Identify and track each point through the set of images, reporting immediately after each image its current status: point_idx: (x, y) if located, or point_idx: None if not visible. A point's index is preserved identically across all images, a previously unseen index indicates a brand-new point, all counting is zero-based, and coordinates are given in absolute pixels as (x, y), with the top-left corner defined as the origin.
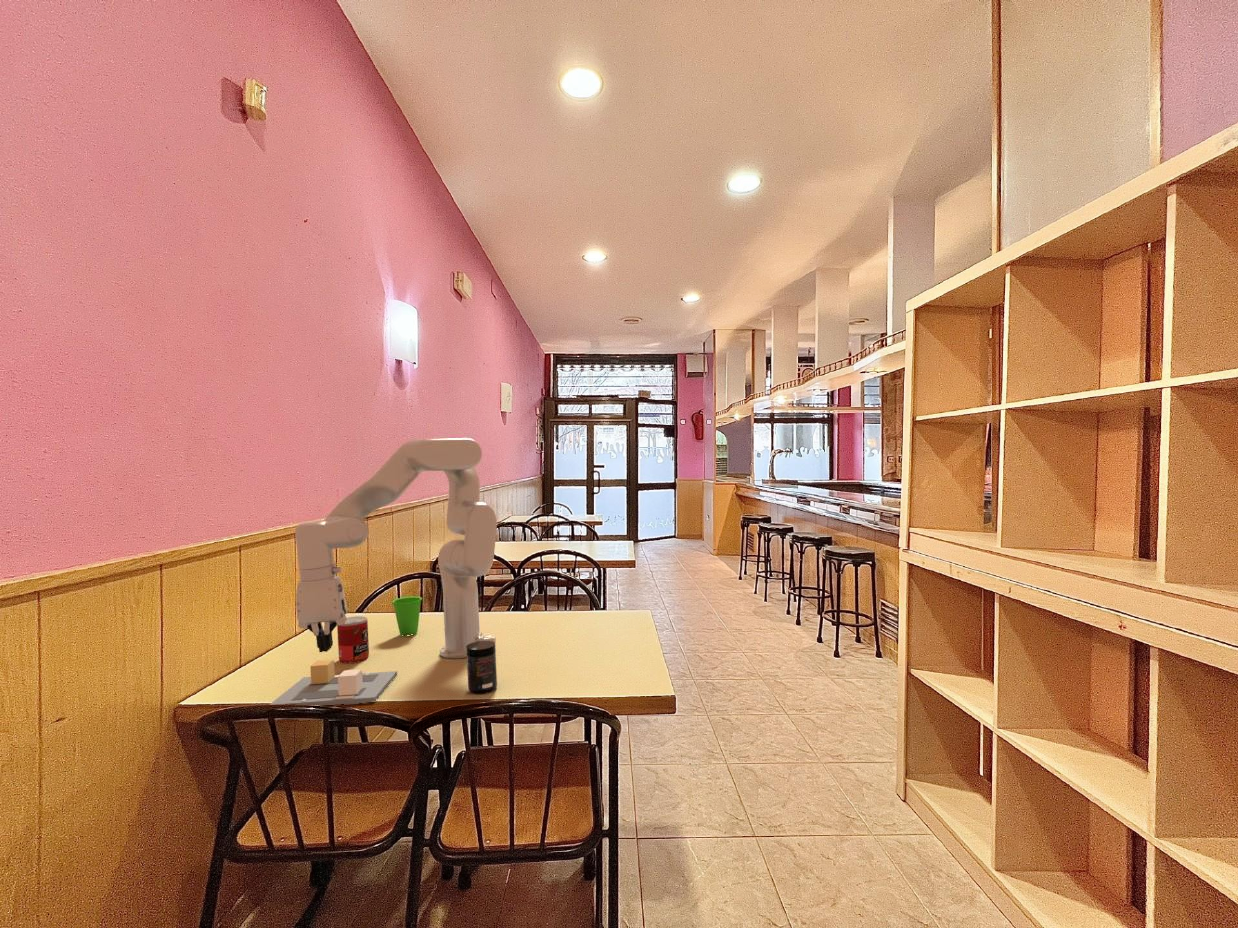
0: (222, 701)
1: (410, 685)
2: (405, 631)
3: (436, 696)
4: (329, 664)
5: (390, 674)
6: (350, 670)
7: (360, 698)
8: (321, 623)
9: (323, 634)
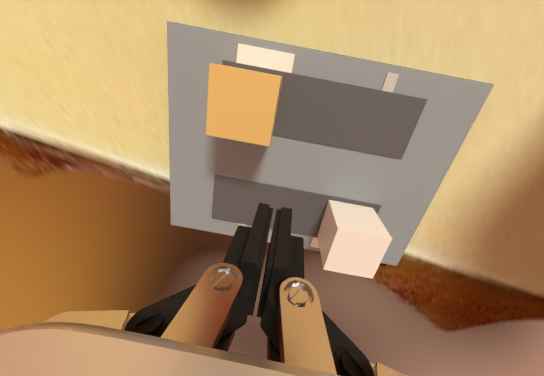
0: (19, 119)
1: (491, 187)
2: None
3: (520, 272)
4: (272, 126)
5: (463, 114)
6: (356, 236)
7: None
8: (219, 330)
9: (256, 292)
